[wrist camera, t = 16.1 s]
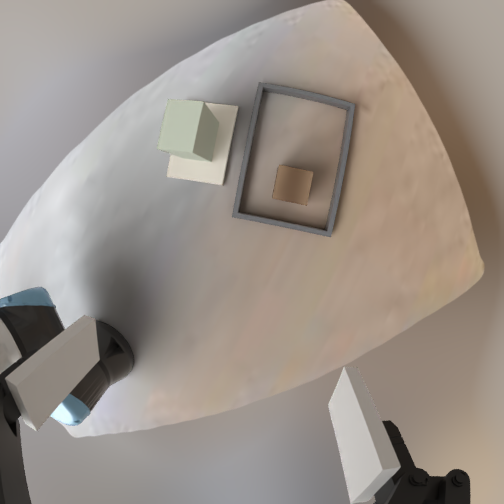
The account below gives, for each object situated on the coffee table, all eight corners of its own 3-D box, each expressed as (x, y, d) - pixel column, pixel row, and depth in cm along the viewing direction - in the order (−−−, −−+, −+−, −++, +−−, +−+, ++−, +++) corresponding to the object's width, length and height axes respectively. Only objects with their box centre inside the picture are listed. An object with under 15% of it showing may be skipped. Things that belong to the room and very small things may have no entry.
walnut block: (272, 197, 46) (272, 198, 39) (277, 168, 45) (279, 164, 38) (301, 203, 46) (306, 205, 39) (306, 174, 45) (313, 172, 38)
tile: (168, 177, 46) (166, 176, 45) (184, 102, 43) (182, 100, 42) (223, 185, 46) (222, 185, 45) (238, 108, 43) (238, 106, 42)
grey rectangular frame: (233, 215, 47) (231, 217, 45) (259, 86, 42) (259, 82, 40) (328, 235, 47) (330, 237, 45) (351, 107, 42) (355, 104, 40)
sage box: (183, 158, 44) (156, 148, 33) (191, 119, 43) (167, 99, 31) (211, 162, 44) (192, 152, 33) (219, 122, 43) (203, 101, 31)
